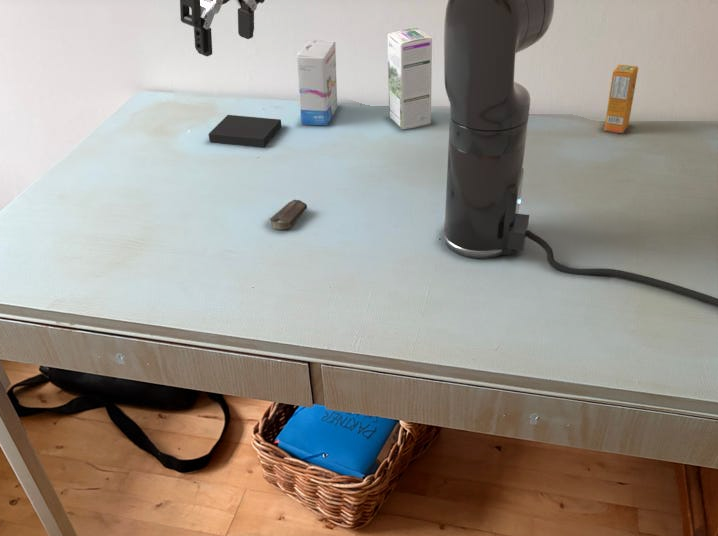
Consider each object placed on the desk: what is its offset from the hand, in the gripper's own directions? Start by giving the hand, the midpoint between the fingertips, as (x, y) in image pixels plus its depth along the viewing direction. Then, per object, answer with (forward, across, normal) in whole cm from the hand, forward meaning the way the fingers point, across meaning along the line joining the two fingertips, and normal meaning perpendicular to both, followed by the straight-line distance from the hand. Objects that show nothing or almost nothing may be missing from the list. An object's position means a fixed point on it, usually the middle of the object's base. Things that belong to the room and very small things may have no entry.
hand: (225, 45), depth 104 cm
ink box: (+19, +24, 0) cm, 31 cm away
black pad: (+20, +11, +6) cm, 24 cm away
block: (+18, -7, -17) cm, 26 cm away
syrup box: (+17, +30, -15) cm, 37 cm away
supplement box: (+13, +44, -46) cm, 65 cm away
